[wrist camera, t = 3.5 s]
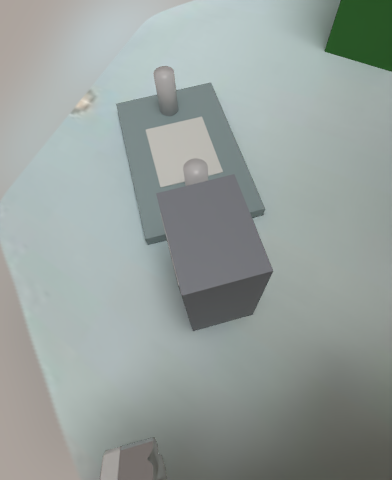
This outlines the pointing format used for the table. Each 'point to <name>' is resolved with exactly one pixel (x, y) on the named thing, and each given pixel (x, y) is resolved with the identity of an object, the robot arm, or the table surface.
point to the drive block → (214, 250)
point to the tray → (179, 147)
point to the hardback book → (363, 32)
